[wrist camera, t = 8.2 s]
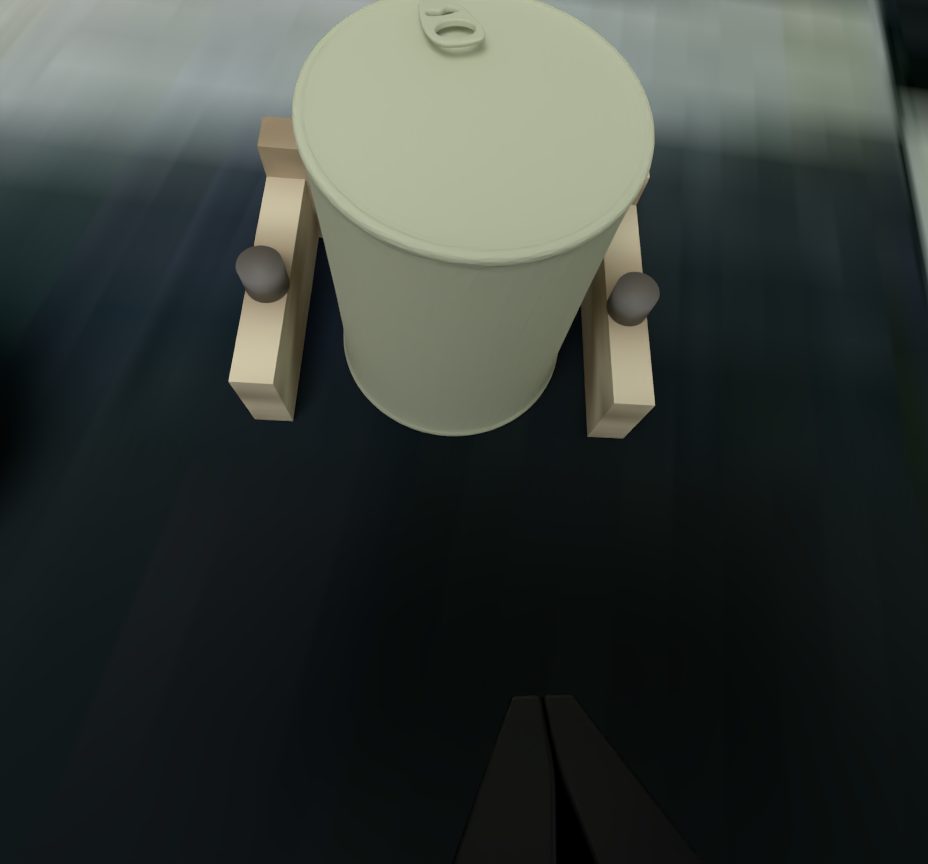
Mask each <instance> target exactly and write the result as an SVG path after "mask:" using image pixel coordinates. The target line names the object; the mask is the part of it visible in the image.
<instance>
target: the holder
mask: <svg viewBox="0 0 928 864" xmlns="http://www.w3.org/2000/svg"><path fill="white" fill-rule="evenodd" d="M257 147H258V150H259V154H260V157H261V160H262V163H263V166H264V169H265V172H266V175H267V179H266V184H265V189H264V195H263V200H262V205H261V211H260V216H259V221H258V227H257V232H256V237H255V243H254V246H253V247H250V248H248V249H246V250H245V251H243V252H242V253H241V254H240V255H239V257H238V259H237V261H236V270H237V273H238V275H239V277H240V279H241V281H242V283H243V285H244V288H245V290H246V291H245V296H244V302H243V307H242V312H241V318H240V323H239V328H238V334H237V339H236V344H235V350H234V355H233V360H232V366H231V371H230V376H229V383H230V384H231V386H232V387H233V389H234V390H235V391H236V393H237V394H238V396H239V397H240V399H241V400H242V401H243V403H244V404H245V406H246V407H247V408H248V410H249V411H250V413H251V414H252V416H253V417H254V418H255V419H262V420H281V421H293V418H294V411H295V404H296V397H297V390H298V383H299V376H300V369H301V361H302V354H303V347H304V340H305V333H306V326H307V319H308V312H309V304H310V297H311V290H312V283H313V276H314V269H315V262H316V255H317V247H318V240H319V237H320V238H323V236H322V232H321V228H320V224H319V220H318V216H317V212H316V208H315V204H314V200H313V196H312V192H311V188H310V184H309V180H308V177H307V173H306V169H305V166H304V164H303V162H302V159H301V157H300V154H299V151H298V149H297V146H296V142H295V137H294V133H293V123H292V119H290V118H278V117H266V116H263V119H262V125H261V130H260V135H259V140H258V145H257ZM649 178H650V177H649V173H648V176H647V178H646V180H645V183H644V185H643V187H642V189H641V190H640V192H639V194H638V196H637V197H636V199H635V200H634V202H633V203H632V205H631V206H630V207H629V209H628V210H627V212H626V214H625V216H624V218H623V220H622V222H621V224H620V225H619V228H618V230H617V232H616V234H615V236H614V238H613V240H612V242H611V244H610V246H609V248H608V250H607V252H606V254H605V256H604V258H603V260H602V262H601V264H600V266H599V268H598V270H597V272H596V274H595V276H594V278H593V280H592V282H591V284H590V286H589V288H588V290H587V292H586V294H585V297H584V299H583V301H582V303H581V317H582V338H583V358H584V378H585V398H586V418H587V437H604V438H624V437H625V436H626V435H627V434H628V433H629V432H630V431H631V430H632V429H633V428H634V427H635V426H636V425H637V424H638V423H639V422H640V421H641V420H642V418H643V417H644V416H645V415H646V414H647V413H648V412H649V411H650V410H651V409H652V408H653V407H654V406H655V399H654V389H653V378H652V368H651V357H650V347H649V336H648V325H647V315H648V314H649V313H650V311H651V310H652V308H653V307H654V305H655V304H656V302H657V301H658V299H659V288H658V285H657V284H656V282H655V281H654V280H653V279H652V278H651V277H650V276H648V275H646V274H644V273H642V262H641V252H640V241H639V230H638V220H637V209H636V204H637V202H638V200H639V198H640V196H641V194H642V192H643V190H644V188H645V186H646V184H647V182H648V180H649Z"/></svg>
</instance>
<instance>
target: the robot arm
mask: <svg viewBox="0 0 928 864" xmlns="http://www.w3.org/2000/svg"><path fill="white" fill-rule="evenodd" d="M452 864H706V863H705V862H704V861H703V859H702V858H701V857H700V855H699V854H698V853H697V852H696V850H695V849H694V848H693V847H692V845H691V844H690V843H689V842H688V840H687V839H686V838H685V836H684V835H683V834H682V833H681V831H680V830H679V829H678V828H677V826H676V825H675V824H674V823H673V821H672V820H671V819H670V817H669V816H668V815H667V814H666V812H665V811H664V810H663V809H662V807H661V806H660V805H659V804H658V802H657V801H656V800H655V798H654V797H653V796H652V795H651V793H650V792H649V791H648V790H647V788H646V787H645V786H644V785H643V783H642V782H641V781H640V779H639V778H638V777H637V776H636V774H635V773H634V772H633V771H632V769H631V768H630V767H629V766H628V764H627V763H626V762H625V760H624V759H623V758H622V757H621V755H620V754H619V753H618V752H617V750H616V749H615V748H614V747H613V745H612V744H611V743H610V741H609V740H608V739H607V738H606V736H605V735H604V734H603V733H602V731H601V730H600V729H599V728H598V726H597V725H596V724H595V722H594V721H593V720H592V719H591V717H590V716H589V715H588V714H587V712H586V711H585V710H584V709H583V707H582V706H581V705H580V703H579V702H578V701H577V700H576V698H575V697H574V696H573V695H571V694H568V693H564V694H546V695H544V696H543V698H542V699H541V697H540V696H538V695H517V696H513V697H512V698H511V699H510V701H509V704H508V707H507V709H506V712H505V715H504V718H503V721H502V724H501V726H500V729H499V732H498V735H497V738H496V740H495V743H494V746H493V749H492V752H491V754H490V757H489V760H488V763H487V766H486V768H485V771H484V774H483V777H482V780H481V783H480V785H479V788H478V791H477V794H476V797H475V799H474V802H473V805H472V808H471V811H470V813H469V816H468V819H467V822H466V825H465V827H464V830H463V833H462V836H461V839H460V842H459V844H458V847H457V850H456V853H455V856H454V858H453V861H452Z"/></svg>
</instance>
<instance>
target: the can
mask: <svg viewBox="0 0 928 864" xmlns="http://www.w3.org/2000/svg"><path fill="white" fill-rule="evenodd" d="M292 123H293V133H294V137H295V142H296V146H297V149H298V151H299V154H300V157H301V159H302V162H303V164H304V166H305V169H306V173H307V177H308V180H309V184H310V188H311V192H312V196H313V200H314V204H315V208H316V212H317V216H318V220H319V224H320V228H321V232H322V236H323V240H324V244H325V249H326V253H327V257H328V261H329V265H330V270H331V274H332V278H333V282H334V287H335V291H336V296H337V300H338V305H339V310H340V314H341V319H342V323H343V328H344V350H345V356H346V360H347V363H348V366H349V369H350V372H351V374H352V376H353V378H354V380H355V382H356V383H357V385H358V387H359V388H360V389H361V391H362V392H363V394H364V395H365V396H366V397H367V398H368V399H369V401H370V402H371V403H372V404H374V405H375V406H376V407H377V408H378V409H379V410H380V411H382V412H383V413H384V414H386V415H387V416H389V417H390V418H392V419H393V420H395V421H397V422H398V423H400V424H402V425H405V426H407V427H409V428H411V429H415V430H418V431H421V432H424V433H429V434H434V435H441V436H467V435H474V434H479V433H483V432H487V431H490V430H494V429H496V428H498V427H501V426H503V425H505V424H507V423H509V422H511V421H513V420H514V419H516V418H517V417H519V416H520V415H522V414H523V413H524V412H525V411H527V410H528V409H529V408H530V407H531V406H532V405H533V404H534V403H535V402H536V401H537V399H538V398H539V397H540V396H541V394H542V393H543V391H544V390H545V388H546V386H547V385H548V383H549V381H550V379H551V376H552V374H553V371H554V368H555V364H556V360H557V354H558V352H559V350H560V348H561V345H562V343H563V341H564V339H565V337H566V335H567V333H568V331H569V328H570V326H571V324H572V322H573V320H574V318H575V316H576V314H577V311H578V309H579V307H580V305H581V303H582V301H583V299H584V297H585V294H586V292H587V290H588V288H589V286H590V284H591V282H592V280H593V278H594V276H595V274H596V272H597V270H598V268H599V266H600V264H601V262H602V260H603V258H604V256H605V254H606V252H607V250H608V248H609V246H610V244H611V242H612V240H613V238H614V236H615V234H616V232H617V230H618V228H619V225H620V224H621V222H622V220H623V218H624V216H625V214H626V212H627V210H628V209H629V207H630V206H631V205H632V203H633V202H634V200H635V199H636V197H637V196H638V194H639V192H640V190H641V189H642V187H643V185H644V183H645V180H646V178H647V176H648V173H649V169H650V166H651V162H652V157H653V151H654V123H653V116H652V112H651V108H650V104H649V101H648V98H647V96H646V94H645V91H644V89H643V87H642V84H641V83H640V81H639V79H638V78H637V76H636V74H635V73H634V71H633V70H632V68H631V67H630V66H629V64H628V63H627V61H626V60H625V59H624V58H623V57H622V56H621V55H620V53H619V52H618V51H617V50H616V49H615V48H614V47H613V46H612V45H611V44H610V43H609V42H608V41H607V40H606V39H604V38H603V37H602V36H601V35H600V34H598V33H597V32H596V31H594V30H593V29H592V28H590V27H589V26H588V25H586V24H585V23H583V22H581V21H579V20H578V19H576V18H574V17H573V16H571V15H569V14H567V13H565V12H563V11H561V10H559V9H557V8H555V7H553V6H551V5H549V4H546V3H543V2H540V1H537V0H379V1H377V2H375V3H373V4H370V5H368V6H366V7H364V8H362V9H360V10H358V11H357V12H355V13H353V14H351V15H350V16H348V17H347V18H345V19H344V20H343V21H341V22H340V23H338V24H337V25H336V26H334V27H333V28H332V29H331V30H330V31H329V32H328V33H327V34H326V35H325V36H324V37H323V38H322V39H321V40H320V41H319V43H318V44H317V45H316V46H315V48H314V49H313V50H312V52H311V53H310V55H309V56H308V58H307V60H306V61H305V63H304V65H303V67H302V69H301V71H300V74H299V77H298V80H297V82H296V86H295V90H294V95H293V104H292Z"/></svg>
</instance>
